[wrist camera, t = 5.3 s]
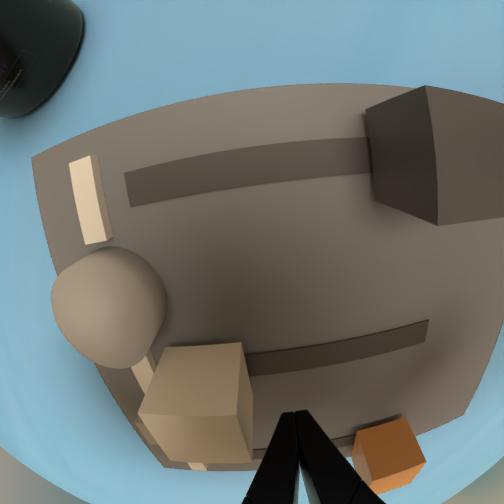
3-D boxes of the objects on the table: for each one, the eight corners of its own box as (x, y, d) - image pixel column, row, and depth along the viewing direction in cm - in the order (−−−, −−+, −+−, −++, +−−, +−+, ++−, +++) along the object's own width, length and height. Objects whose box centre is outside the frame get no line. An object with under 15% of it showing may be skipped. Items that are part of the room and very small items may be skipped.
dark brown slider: (436, 113, 7) (505, 104, 4) (444, 195, 8) (512, 216, 5) (364, 109, 7) (425, 85, 4) (375, 201, 8) (437, 226, 5)
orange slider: (405, 416, 12) (426, 461, 8) (394, 442, 13) (410, 482, 9) (356, 431, 12) (372, 481, 9) (351, 455, 13) (362, 498, 9)
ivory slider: (241, 342, 10) (236, 415, 7) (252, 395, 11) (252, 462, 7) (165, 347, 10) (137, 413, 7) (186, 398, 11) (170, 460, 8)
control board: (498, 112, 8) (544, 110, 5) (455, 402, 14) (474, 432, 11) (52, 156, 9) (-2, 160, 6) (167, 451, 16) (158, 489, 12)
